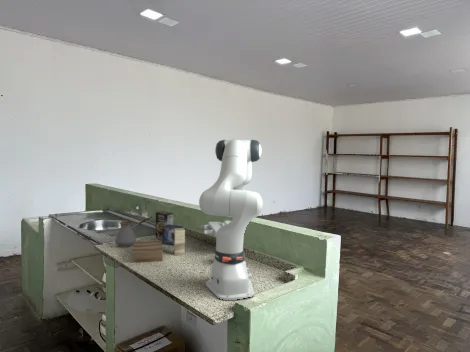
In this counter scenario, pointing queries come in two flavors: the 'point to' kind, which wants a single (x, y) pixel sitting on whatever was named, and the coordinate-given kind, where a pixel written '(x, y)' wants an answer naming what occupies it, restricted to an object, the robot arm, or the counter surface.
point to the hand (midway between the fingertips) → (202, 229)
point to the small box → (169, 234)
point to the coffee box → (163, 222)
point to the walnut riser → (147, 251)
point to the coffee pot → (127, 233)
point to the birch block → (179, 241)
